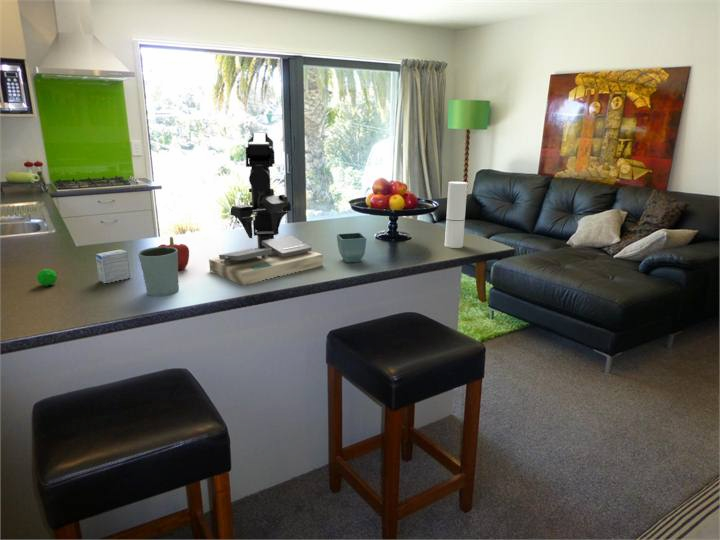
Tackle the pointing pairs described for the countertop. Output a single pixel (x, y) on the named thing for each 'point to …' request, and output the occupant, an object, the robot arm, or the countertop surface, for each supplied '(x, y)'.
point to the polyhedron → (47, 277)
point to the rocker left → (246, 254)
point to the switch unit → (264, 266)
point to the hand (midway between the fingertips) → (263, 236)
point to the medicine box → (113, 266)
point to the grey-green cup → (160, 270)
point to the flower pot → (351, 246)
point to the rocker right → (286, 246)
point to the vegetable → (180, 253)
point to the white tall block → (455, 214)
